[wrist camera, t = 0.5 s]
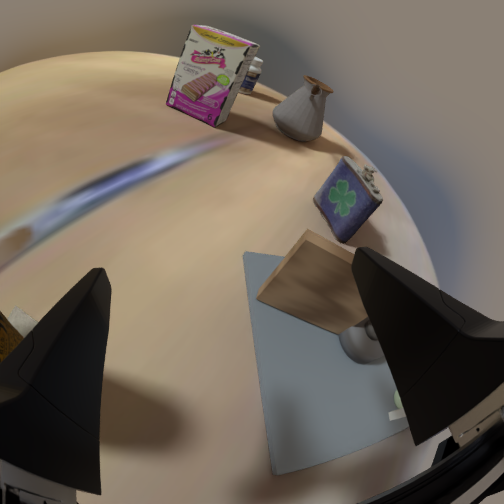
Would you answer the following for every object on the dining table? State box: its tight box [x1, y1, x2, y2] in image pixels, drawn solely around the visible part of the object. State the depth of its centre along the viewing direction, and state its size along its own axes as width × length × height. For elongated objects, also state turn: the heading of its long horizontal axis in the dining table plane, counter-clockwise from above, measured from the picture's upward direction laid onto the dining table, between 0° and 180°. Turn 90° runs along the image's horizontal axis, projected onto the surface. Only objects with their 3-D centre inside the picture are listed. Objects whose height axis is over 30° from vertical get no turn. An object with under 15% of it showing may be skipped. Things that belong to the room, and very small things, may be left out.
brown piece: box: [256, 229, 384, 364], centre depth 24 cm, size 20×6×9 cm, turn 74°
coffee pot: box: [273, 75, 333, 142], centre depth 47 cm, size 21×12×15 cm, turn 161°
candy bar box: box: [166, 25, 260, 127], centre depth 40 cm, size 11×5×16 cm, turn 68°
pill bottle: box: [238, 57, 263, 94], centre depth 58 cm, size 5×5×10 cm
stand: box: [243, 251, 409, 475], centre depth 26 cm, size 22×20×3 cm
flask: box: [313, 156, 383, 243], centre depth 37 cm, size 9×3×11 cm, turn 20°
